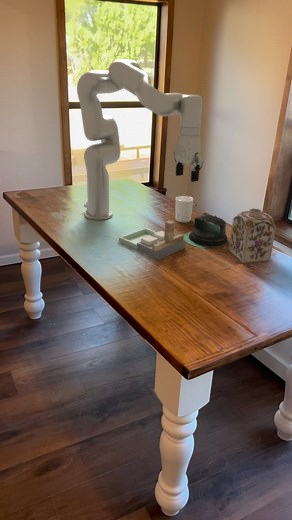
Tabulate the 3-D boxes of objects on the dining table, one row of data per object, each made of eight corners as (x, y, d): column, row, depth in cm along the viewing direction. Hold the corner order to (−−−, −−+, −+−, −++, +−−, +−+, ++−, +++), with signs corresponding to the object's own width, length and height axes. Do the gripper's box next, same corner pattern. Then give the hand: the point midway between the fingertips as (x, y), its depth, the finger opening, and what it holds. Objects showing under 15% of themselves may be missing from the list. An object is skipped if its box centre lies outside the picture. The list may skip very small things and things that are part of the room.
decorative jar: (241, 263, 153) (248, 216, 145) (227, 250, 163) (233, 205, 155) (271, 261, 156) (279, 214, 148) (255, 248, 166) (262, 204, 158)
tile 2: (153, 237, 164) (153, 233, 164) (161, 234, 167) (161, 230, 167) (162, 240, 161) (162, 236, 161) (169, 237, 164) (170, 233, 164)
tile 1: (140, 241, 160) (140, 238, 159) (148, 238, 163) (149, 235, 162) (149, 245, 157) (149, 241, 156) (157, 242, 160) (157, 238, 159)
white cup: (191, 217, 195) (193, 196, 190) (191, 223, 188) (193, 201, 183) (174, 216, 195) (175, 195, 191) (173, 222, 188) (175, 200, 184)
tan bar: (151, 249, 153) (152, 226, 150) (179, 238, 164) (181, 216, 160) (156, 251, 152) (157, 228, 148) (184, 240, 163) (186, 218, 159)
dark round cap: (241, 239, 174) (244, 218, 170) (216, 254, 160) (219, 231, 156) (200, 227, 185) (202, 206, 181) (173, 240, 171) (175, 218, 167)
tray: (118, 242, 166) (118, 237, 165) (145, 232, 176) (145, 227, 175) (136, 250, 160) (136, 244, 159) (163, 239, 170) (163, 234, 169)
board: (136, 250, 160) (136, 242, 159) (163, 239, 170) (163, 232, 169) (158, 259, 153) (158, 252, 152) (184, 248, 163) (185, 241, 162)
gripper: (167, 128, 159) (165, 174, 166) (196, 135, 145) (192, 184, 153) (184, 127, 162) (181, 172, 169) (213, 134, 149) (208, 182, 156)
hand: (186, 178), depth 161 cm, fingers open, 9 cm apart
